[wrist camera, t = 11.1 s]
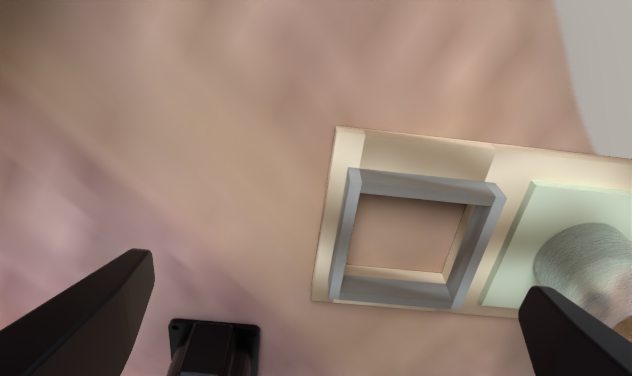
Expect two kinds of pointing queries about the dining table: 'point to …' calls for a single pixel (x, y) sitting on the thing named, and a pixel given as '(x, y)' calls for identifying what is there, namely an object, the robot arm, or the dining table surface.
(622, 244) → the steel tin
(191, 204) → the dining table surface
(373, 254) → the dining table surface
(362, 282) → the pocket board
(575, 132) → the dining table surface
